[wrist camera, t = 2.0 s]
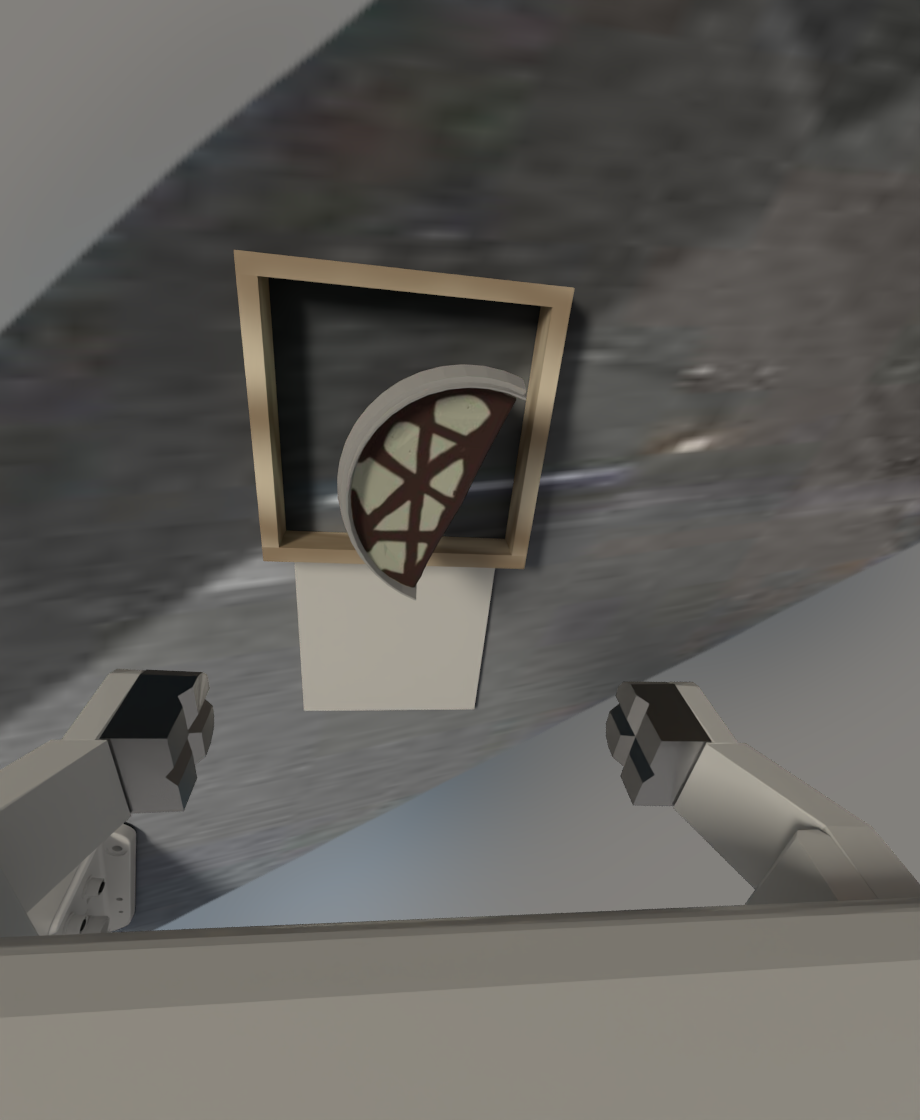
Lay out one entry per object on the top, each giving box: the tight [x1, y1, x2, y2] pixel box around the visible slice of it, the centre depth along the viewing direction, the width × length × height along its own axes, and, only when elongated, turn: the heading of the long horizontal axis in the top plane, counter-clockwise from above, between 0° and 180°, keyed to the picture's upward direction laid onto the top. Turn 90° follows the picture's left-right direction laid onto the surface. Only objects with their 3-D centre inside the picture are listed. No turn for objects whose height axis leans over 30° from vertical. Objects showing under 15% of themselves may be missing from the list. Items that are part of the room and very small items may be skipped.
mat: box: [295, 562, 495, 711], centre depth 40 cm, size 14×14×1 cm
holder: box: [234, 250, 574, 569], centre depth 31 cm, size 17×17×2 cm
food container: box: [337, 364, 527, 601], centre depth 28 cm, size 12×6×10 cm, turn 153°
